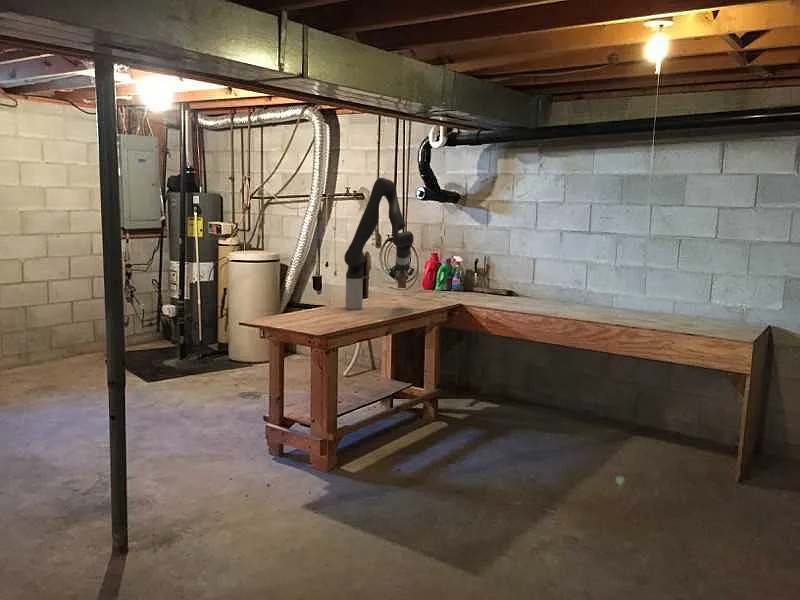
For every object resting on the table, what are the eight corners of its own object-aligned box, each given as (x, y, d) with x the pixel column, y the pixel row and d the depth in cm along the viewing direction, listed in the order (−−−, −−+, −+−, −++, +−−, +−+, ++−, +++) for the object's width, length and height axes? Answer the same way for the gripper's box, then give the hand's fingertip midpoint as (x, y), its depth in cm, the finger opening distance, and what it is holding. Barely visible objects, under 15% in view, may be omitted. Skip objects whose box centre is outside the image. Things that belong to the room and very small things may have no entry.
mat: (399, 310, 368) (399, 310, 368) (398, 308, 376) (398, 308, 376) (413, 310, 369) (413, 310, 369) (412, 308, 377) (412, 308, 377)
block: (397, 288, 375) (398, 268, 373) (397, 287, 379) (397, 267, 378) (405, 288, 375) (406, 268, 373) (405, 287, 379) (405, 267, 378)
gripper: (415, 254, 367) (414, 274, 381) (389, 254, 367) (389, 274, 380) (415, 264, 363) (414, 284, 376) (389, 264, 362) (389, 284, 376)
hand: (401, 279), depth 378 cm, fingers closed on block, 4 cm apart
